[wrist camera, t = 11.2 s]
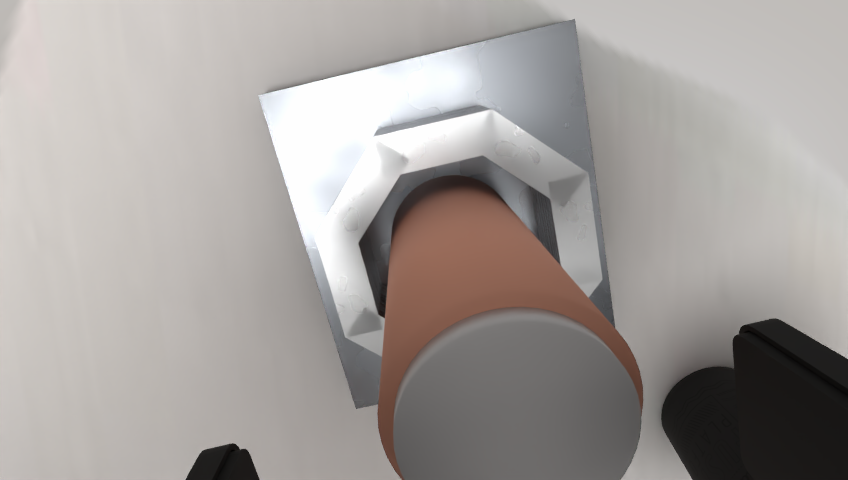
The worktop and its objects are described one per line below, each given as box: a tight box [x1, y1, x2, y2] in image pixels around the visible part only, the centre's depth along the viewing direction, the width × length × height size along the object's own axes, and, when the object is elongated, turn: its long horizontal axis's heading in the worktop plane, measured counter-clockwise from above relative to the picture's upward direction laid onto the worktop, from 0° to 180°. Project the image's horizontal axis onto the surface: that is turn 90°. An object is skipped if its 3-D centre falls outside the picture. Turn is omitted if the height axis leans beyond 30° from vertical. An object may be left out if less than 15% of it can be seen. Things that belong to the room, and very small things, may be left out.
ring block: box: [258, 19, 615, 409], centre depth 20 cm, size 14×12×4 cm
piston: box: [378, 175, 643, 480], centre depth 15 cm, size 5×5×13 cm
